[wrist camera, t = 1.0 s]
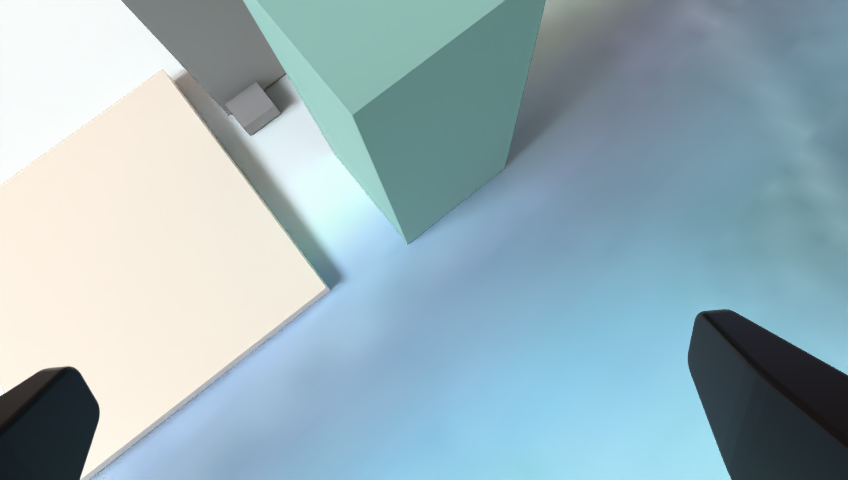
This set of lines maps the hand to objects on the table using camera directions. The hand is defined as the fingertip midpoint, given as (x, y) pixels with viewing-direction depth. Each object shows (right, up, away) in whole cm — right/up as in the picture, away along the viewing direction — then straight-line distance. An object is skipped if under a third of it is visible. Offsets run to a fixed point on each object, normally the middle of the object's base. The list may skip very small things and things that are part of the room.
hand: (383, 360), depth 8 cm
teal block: (0, +5, +15) cm, 16 cm away
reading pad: (-11, +1, +14) cm, 19 cm away
